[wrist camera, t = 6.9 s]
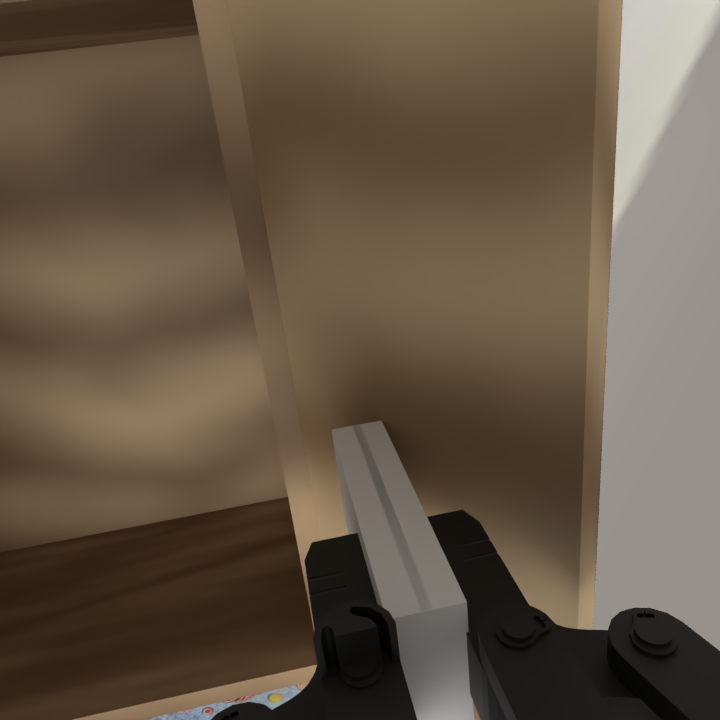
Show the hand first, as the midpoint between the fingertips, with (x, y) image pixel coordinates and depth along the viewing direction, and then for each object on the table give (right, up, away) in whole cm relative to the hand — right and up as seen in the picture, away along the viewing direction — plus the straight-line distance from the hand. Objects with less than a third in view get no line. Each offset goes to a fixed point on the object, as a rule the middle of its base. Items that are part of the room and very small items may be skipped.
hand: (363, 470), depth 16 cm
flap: (+1, +1, -1) cm, 1 cm away
